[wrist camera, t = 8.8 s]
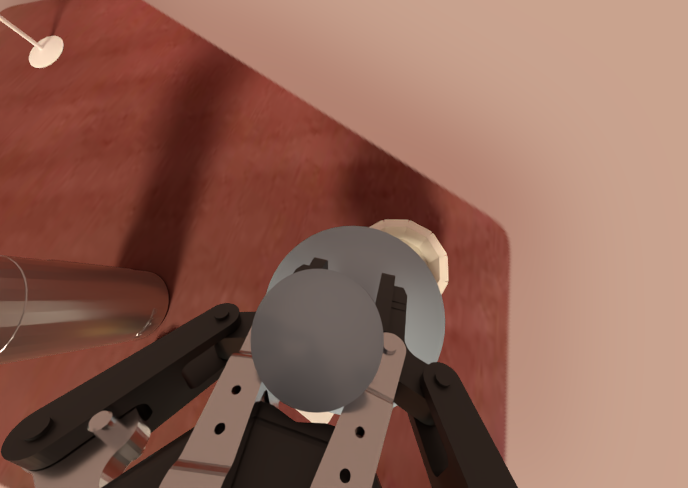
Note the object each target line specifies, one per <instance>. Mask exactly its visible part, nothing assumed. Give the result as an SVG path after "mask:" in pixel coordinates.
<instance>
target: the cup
mask: <svg viewBox="0 0 688 488" xmlns="http://www.w3.org/2000/svg"><path fill="white" fill-rule="evenodd" d="M369 228H374V229H378V230H381V231H383V232H386V233H389V234H390V235H392V236H394V237H396V238H398V239H400V240H401V241H403V242H404V243H406V244H407V245H408V246H409V247H411V248H412V249H413V250H414V251H415V252H416V253H417V254H418V255H419V256H420V257H421V258H422V260H423V261H424V262H425V263H426V265H427V266H428V268H429V269H430V271H431V272H432V274H433V276H434V278H435V280H436V282H437V284H438V287H439V290H440V293H441V295H442V293H443V291H444V289H445V287H446V286H447V284H448V283H447V281H448V257H447V256H445V255H446V252H445V250H444V249H443V247H442V246H441V244H440V243H439V241H438V240H437V238H436V236H435V235H434V233H432V232H431V231H430V230H428V229H426V228H424V227H422V226H420V225H418V224H417V223H415V222H413V221H411V220H410V221H409V223H408V220H399V219H384V221H383V220H381V221H380V222H378V223H376V224H374V225H372V226H370V227H369ZM431 233H432V234H431Z"/></svg>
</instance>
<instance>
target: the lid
mask: <svg viewBox="0 0 688 488" xmlns="http://www.w3.org/2000/svg"><path fill="white" fill-rule="evenodd" d="M314 257H316V258H320V259H325V260H328V269H308V270H303V271H299V272H296V273H294V271H295V270H296V269H297V268H298V267H300V266H301V265H303V264H305V265H310V263H311V262H312V260H313V258H314ZM293 273H294V274H293ZM382 273H386V274H390V275H394V276H395V284H394V286H398V287H402V288H404V290H405V292H406V294H407V309H406V324H405V343H406V346H407V348H408V349H409V351H410V352H411V353H412V354H413V355H414V356H416V357H417V358H419V359H420V360H422V361H423V362H425V363H427V364H430V363H432V362H437V361H438V358H439V355H440V352H441V349H442V345H443V340H444V334H445V313H444V305H443V300H442V296H441V293H440V290H439V287H438V284H437V282H436V280H435V278H434V276H433V274H432V272H431V271H430V269H429V268H428V266H427V265H426V263H425V262H424V261H423V260H422V258H421V257H420V256H419V255H418V254H417V253H416V252H415V251H414V250H413V249H412V248H411V247H409V246H408V245H407V244H406V243H404V242H403V241H401V240H400V239H398V238H396V237H394V236H392V235H390V234H389V233H386V232H383V231H381V230H378V229H374V228H369V227H363V226H342V227H336V228H331V229H328V230H324V231H321V232H319V233H317V234H315V235H312V236H311V237H309V238H307V239H306V240H304V241H303V242H301V243H300V244H299V245H297V246H296V247H295V248H294V249H293V250H292V251H291V252H290V253H289V254H288V255H287V256H286V257H285V258H284V260H283V261H282V262H281V263H280V265H279V266H278V268H277V270H276V271H275V273H274V275H273V277H272V279H271V281H270V284H269V287H268V290H267V293H266V296H265V297H264V298H263V300H262V301H261V303H260V305H259V307H258V309H257V311H256V314H255V317H254V320H253V324H252V329H251V339H250V340H251V353H252V359H253V362H254V365H255V368H256V371H257V373H258V375H259V377H260V379H261V380H262V382H263V384H264V385H265V386H266V388H267V389H268V390H269V391H270V392H271V393H272V394H273V395H274V396H275V397H276V398H277V399H279V400H280V401H281V402H283V403H284V404H286V405H288V406H290V407H292V408H295V409H297V410H300V411H305V412H313V413H321V412H330V413H334V414H339V415H341V413H342V410H343V408H344V406H346V405H348V404H349V403H351V402H353V401H354V400H355V399H356V398H358V397H359V396H360V395H361V394H362V393H363V392H364V391H365V390H366V389H367V388H368V386H369V385H370V383H371V382H372V380H373V379H374V377H375V375H376V373H377V371H378V368H379V365H380V363H381V358H382V354H383V345H384V335H383V327H382V322H381V318H380V314H379V311H378V309H377V307H376V304H375V302H376V297H377V293H378V288H379V284H380V279H381V274H382ZM395 406H397V404H395V403H394V404H393V407H395Z"/></svg>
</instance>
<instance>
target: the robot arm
mask: <svg viewBox="0 0 688 488" xmlns="http://www.w3.org/2000/svg"><path fill="white" fill-rule="evenodd" d="M308 269H328V260H325V259H320V258H316V257H314V258H313V260H312V262H311V263H310V265H305V264H303V265H301V266H300V267H298V268H297V269H296V270H295V271H294V273H296V272H299V271H303V270H308ZM294 273H293V274H294ZM394 284H395V276H394V275H390V274H386V273H382V274H381V279H380V284H379V288H378V293H377V297H376V302H375V304H376V307H377V309H378V311H379V314H380V318H381V322H382V327H383V335H384V345H383V354H382V358H381V363H380V365H379V368H378V371H377V373H376V375H375V377H374V379H373V380H372V382H371V383H370V385H369V386H368V388H367V389H366V390H365V391H364V392H363V393H362V394H361V395H360V396H359V397H358V398H356V399H355V400H354V401H353V402H351V403H349V404H348V405H346V406H344V408H343V410H342V413H341V415H340V417H339V420H338V422H337V425H336V427H335V426H332V425H329V424H326V423H301V422H295V421H293V420H292V419H291V418H289V417H288V416H287V415H286V414H284V413H283V412H282V411H280V410H279V409H278V405H279V399H277V398H276V397H275V396H274V395H273V394H272V393H271V392H270V391H269V390H268V389H267V388H266V386H265V385H264V384H263V382H262V380H261V379H260V377H259V375H258V373H257V371H256V368H255V365H254V362H253V359H252V353H251V340H250V339H251V329H252V324H253V320H254V317H255V314H256V312H239V309H238V307H237V306H236V305H234V304H230V303H224V304H220V305H217V306H215V307H213V308H211V309H210V310H208V311H206V312H205V313H203V314H201V315H199V316H198V317H196V318H194V319H193V320H191V321H189V322H187V323H186V324H184V325H182V326H181V327H179V328H177V329H175V330H174V331H172V332H170V333H169V334H167V335H165V336H164V337H162V338H160V339H158V340H157V341H155V342H153V343H152V344H150V345H148V346H146V347H145V348H143V349H141V350H140V351H138V352H136V353H134V354H133V355H131V356H129V357H128V358H126V359H124V360H123V361H121V362H119V363H117V364H116V365H114V366H112V367H111V368H109V369H107V370H105V371H104V372H102V373H100V374H99V375H97V376H95V377H93V378H92V379H90V380H88V381H87V382H85V383H83V384H82V385H80V386H78V387H76V388H75V389H73V390H71V391H70V392H68V393H66V394H64V395H63V396H61V397H59V398H58V399H56V400H54V401H52V402H51V403H49V404H47V405H46V406H44V407H42V408H41V409H39V410H37V411H35V412H34V413H32V414H31V415H29V416H28V417H26V418H25V419H24V420H22V421H21V422H20V423H19V424H18V425H17V426H16V427H15V428H14V429H13V430H12V431H11V432H10V433H9V435H8V436H7V438H6V439H5V441H4V443H3V445H2V449H1V454H2V456H3V458H4V459H6V460H8V461H10V462H12V463H14V464H16V465H18V466H21V467H22V469H23V470H24V471H26V472H28V473H30V474H32V475H33V479H34V484H35V488H382V487H381V484H380V482H379V479H378V476H377V474H376V469H377V466H378V462H379V458H380V454H381V450H382V447H383V443H384V439H385V435H386V431H387V428H388V424H389V420H390V416H391V412H392V408H393V404H394V403H395V404H397V405H398V406H399V407H401V408H402V409H404V410H405V411H406V412H407V413H408V416H409V419H410V422H411V425H412V428H413V432H414V435H415V438H416V441H417V444H418V447H419V450H420V453H421V456H422V459H423V462H424V465H425V468H426V471H427V474H428V477H429V480H430V484H431V487H432V488H518V487H517V486H516V483H515V481H514V480H513V478H512V476H511V474H510V472H509V470H508V468H507V466H506V465H505V463H504V461H503V459H502V457H501V455H500V453H499V451H498V450H497V448H496V446H495V444H494V442H493V440H492V438H491V436H490V435H489V433H488V431H487V429H486V427H485V425H484V423H483V421H482V420H481V418H480V416H479V414H478V412H477V410H476V408H475V406H474V405H473V403H472V401H471V399H470V397H469V395H468V393H467V391H466V390H465V388H464V386H463V384H462V382H461V380H460V378H459V377H458V375H457V374H456V372H455V371H454V370H453V369H452V368H450V367H449V366H447V365H445V364H443V363H440V362H432V363H430V364H427V363H425V362H423V361H422V360H420V359H419V358H417V357H416V356H414V355H413V354H412V353H411V352H410V351H409V349H408V348H407V346H406V343H405V324H406V309H407V294H406V292H405V290H404V288H402V287H398V286H394ZM168 304H169V294H168V290H167V287H166V285H165V283H164V281H163V280H162V279H161V278H160V277H159V276H158V275H157V274H155V273H152V272H148V271H140V270H133V269H130V268H121V267H112V266H103V265H95V264H86V263H77V262H68V261H59V260H40V259H31V258H22V257H12V256H3V255H0V364H4V363H10V362H16V361H21V360H27V359H32V358H38V357H43V356H49V355H54V354H60V353H65V352H71V351H76V350H82V349H87V348H93V347H99V346H104V345H110V344H115V343H121V342H126V341H132V340H137V339H141V338H144V337H146V336H148V335H150V334H151V333H152V332H153V331H155V330H156V329H157V328H158V326H159V325H160V324H161V323H162V321H163V319H164V317H165V315H166V312H167V309H168ZM218 379H219V380H218ZM217 380H218V382H217V384H216V386H215V388H214V390H213V392H212V394H211V396H210V398H209V400H208V402H207V404H206V406H205V408H204V410H203V412H202V414H201V416H200V418H199V420H198V422H197V424H196V426H195V427H194V428H192V429H191V430H189V431H187V432H186V433H184V434H183V435H181V436H180V437H178V438H177V439H175V440H174V441H172V442H171V443H169V444H167V445H166V446H164V447H163V448H161V449H160V450H158V451H157V452H155V453H154V454H152V455H151V456H149V457H147V458H146V459H144V460H143V461H141V462H140V463H138V464H137V465H135V466H134V467H132V468H131V469H129V470H127V471H126V472H124V470H125V469H126V467H127V466H128V465H129V464H130V463H131V462H132V461H134V460H136V459H137V458H138V457H140V456H141V454H142V453H143V451H144V449H145V446H146V444H147V442H148V440H149V437H150V433H151V432H153V431H154V430H155V429H156V428H158V427H159V426H160V425H161V424H163V423H164V422H165V421H166V420H168V419H169V418H170V417H171V416H173V415H174V414H175V413H176V412H178V411H179V410H180V409H181V408H183V407H184V406H185V405H186V404H188V403H189V402H190V401H191V400H193V399H194V398H195V397H196V396H198V395H199V394H200V393H201V392H203V391H204V390H205V389H206V388H208V387H209V386H210V385H212V384H213V383H214V382H215V381H217ZM123 472H124V473H123ZM122 473H123V474H122Z"/></svg>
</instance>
